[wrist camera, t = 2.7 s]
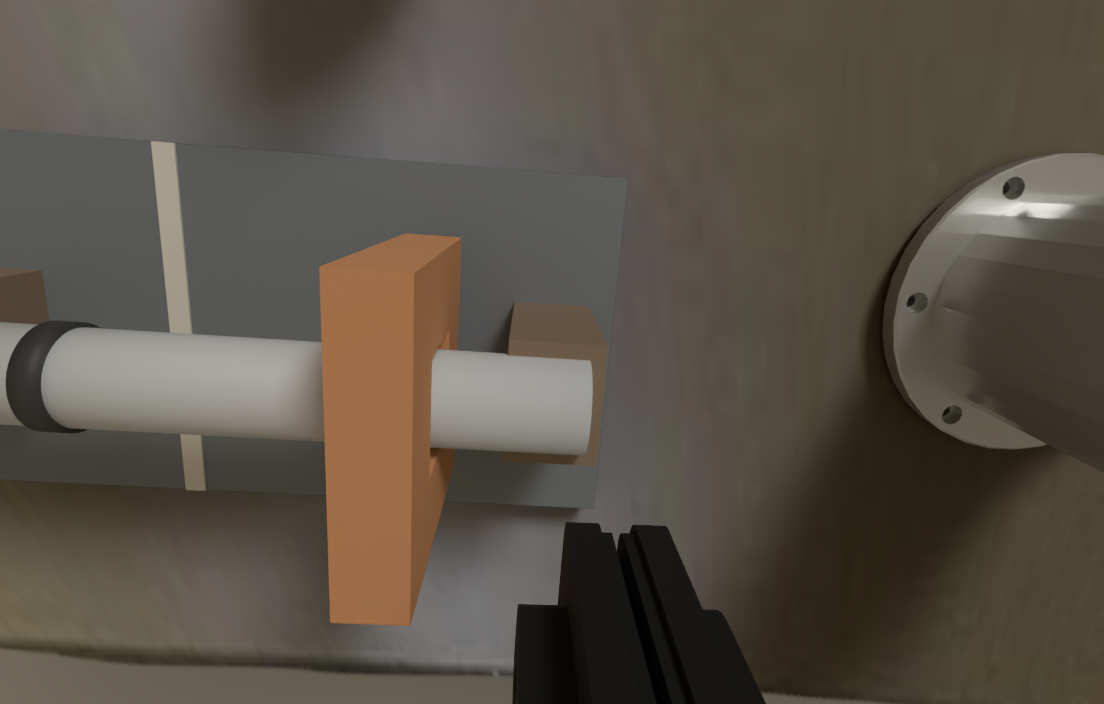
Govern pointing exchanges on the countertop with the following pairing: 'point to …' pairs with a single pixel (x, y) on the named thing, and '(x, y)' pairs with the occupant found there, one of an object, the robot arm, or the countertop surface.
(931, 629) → the countertop surface
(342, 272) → the orange square ring
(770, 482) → the countertop surface
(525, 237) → the pipe stand
